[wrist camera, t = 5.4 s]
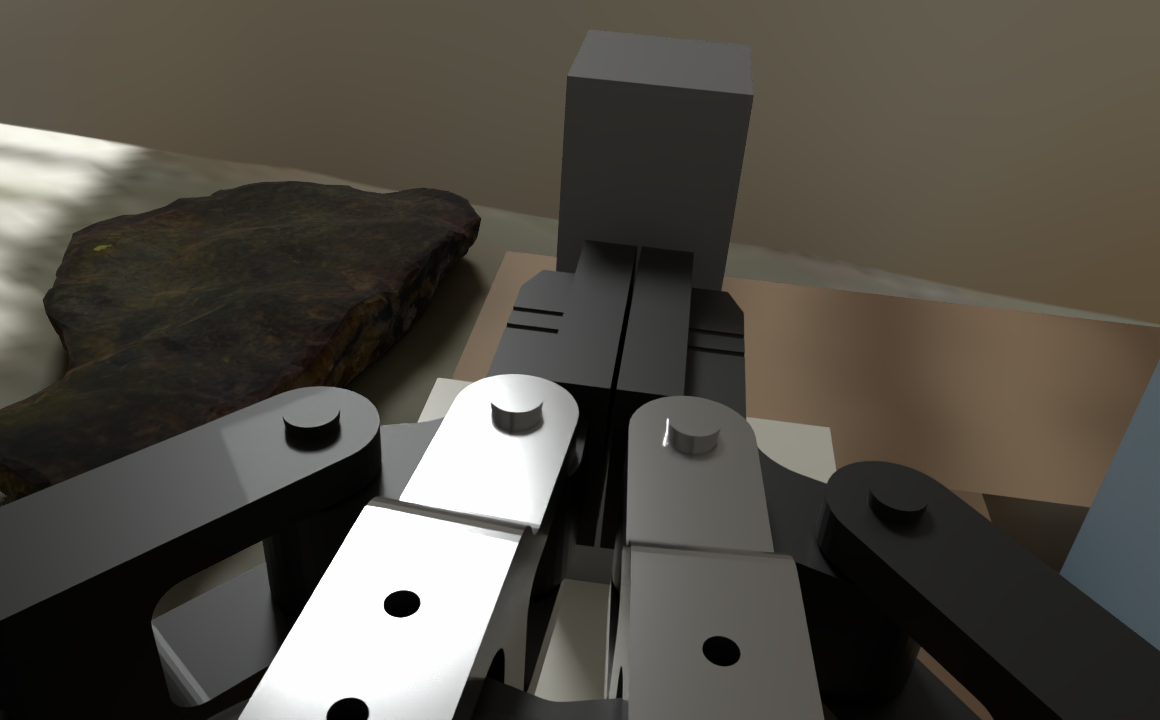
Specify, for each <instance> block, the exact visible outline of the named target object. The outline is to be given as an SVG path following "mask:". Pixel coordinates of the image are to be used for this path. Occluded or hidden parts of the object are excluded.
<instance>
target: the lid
mask: <svg viewBox="0 0 1160 720" xmlns="http://www.w3.org/2000/svg"><path fill="white" fill-rule="evenodd" d="M753 96H754V92H753V80H752V66H751V53H750V46H748V45H738V44H728V43H717V42H708V41H698V40H688V39H678V38H668V37H658V36H648V35H638V34H628V33H617V32H607V31H598V30H589V31H588V34H587V36H586V38H585V40H584V42H583V44H582V46H581V48H580V50H579V53H578V54H577V57H576V59H575V61H574V63H573V65H572V67H571V69H570V71H569V73H568V75H567V90H566V107H565V123H564V124H565V125H564V140H563V158H562V176H561V193H560V211H559V227H558V244H557V261H556V271H558V272H566V273H575V272H576V269H577V265H578V262H579V259H580V255H581V252H582V248H583V245H584V242H585V240H592V241H601V242H609V243H618V244H626V245H635V246H637V258H636V267H635V276H634V286H633V293H634V287H635V282H636V276H637V270H638V265H639V259H640V253H641V248H642V246H645V247H653V248H662V249H670V250H678V251H687V252H694V259H693V273H692V288H700V289H708V290H717V291H721V290H722V284H723V278H724V272H725V266H726V260H727V254H728V248H729V242H730V236H731V229H732V223H733V218H734V211H735V205H736V199H737V193H738V187H739V181H740V175H741V169H742V163H743V156H744V151H745V145H746V139H747V132H748V127H749V120H750V115H751V109H752V102H753ZM632 299H633V295H632ZM473 383H475V382H468V381H460V380H452V379H444V378H438V379H437V381H436V383H435V385H434V387H433V390H432V392H431V394H430V396H429V398H428V401H427V403H426V405H425V407H424V409H423V411H422V414H421V416H420V418H419V420H418V422H417V423H419V422H427V421H431V420H436V419H440V418H443V417H446V415H447V414H448V412H449V410H450V408H451V406H452V405H453V403H454V401H455V399H456V398H457V396H458V395H459V394H460V392H462V391H463V390H464V389H465V388H466V387H468V386H469V385H471V384H473ZM746 421H747V422H748V423H749V424H750V425H751V427H752V429H753V431H754V433H755V436H756V441H757V447H758V448H759V449H760V450H761V451H762V452H763V453H764V454H766V455H767V456H768V457H769V458H770V459H772V460H773V461H775V462H776V463H778V464H780V465H782V466H783V467H785V468H787V469H789V470H792V471H794V472H796V473H799V474H801V475H804V476H807V477H810V478H813V479H815V480H818V481H821V482H824V483H827V482H828V479H829V478H830V477H831V475H832V474H833V473H834V472H836V465H835V459H834V452H833V446H832V439H831V432H830V428H829V427H821V426H813V425H806V424H798V423H790V422H782V421H774V420H766V419H758V418H751V417H746ZM608 465H609V463H608ZM607 475H608V469H607ZM607 475H606V481H605V487H604V492H603V498H602V504H601V510H600V516H599V522H598V528H597V534H596V540H595V545H594V547H590V546H583V545H576V547H575V552H574V557H573V562H572V566H571V569H570V571H569V573H568V575H567V576H566V580H565V592H564V597H563V601H562V604H561V608H560V611H559V614H558V618H557V621H556V624H555V628H554V631H553V634H552V638H551V641H550V644H549V648H548V651H547V654H546V658H545V661H544V664H543V668H542V671H541V674H540V678H539V681H538V684H537V688H536V691H535V694H534V695H535V696H537V697H540V698H543V699H546V700H549V701H555V702H570V701H584V700H599V699H604V688H605V664H606V640H607V616H608V600H609V592H610V583H611V575H612V566H613V557H614V550H613V549H606V548H600V541H601V531H602V522H603V513H604V503H605V494H606V484H607Z"/></svg>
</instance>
